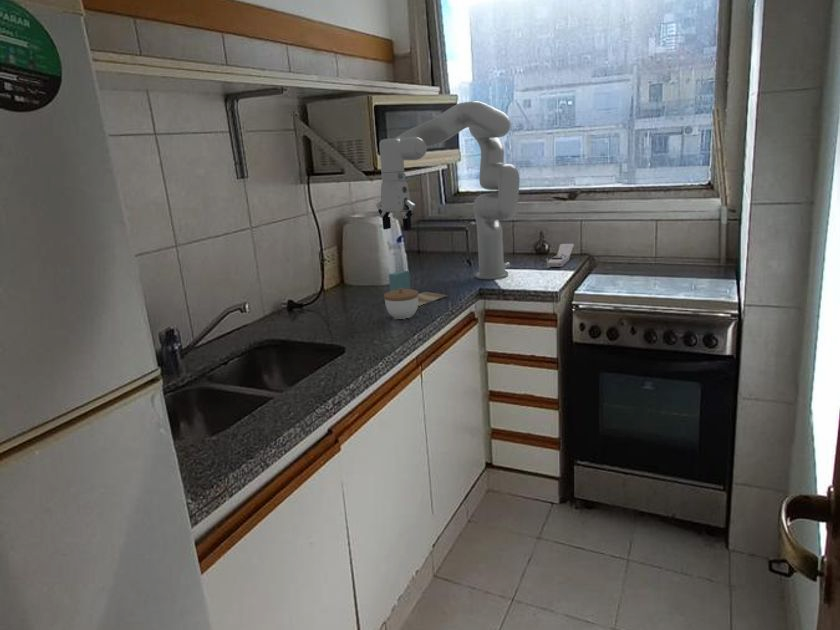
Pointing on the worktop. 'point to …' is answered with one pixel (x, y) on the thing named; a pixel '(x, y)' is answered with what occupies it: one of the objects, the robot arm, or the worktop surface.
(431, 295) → the mat
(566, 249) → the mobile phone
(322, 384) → the worktop surface
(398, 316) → the lidded jar
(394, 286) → the tile
